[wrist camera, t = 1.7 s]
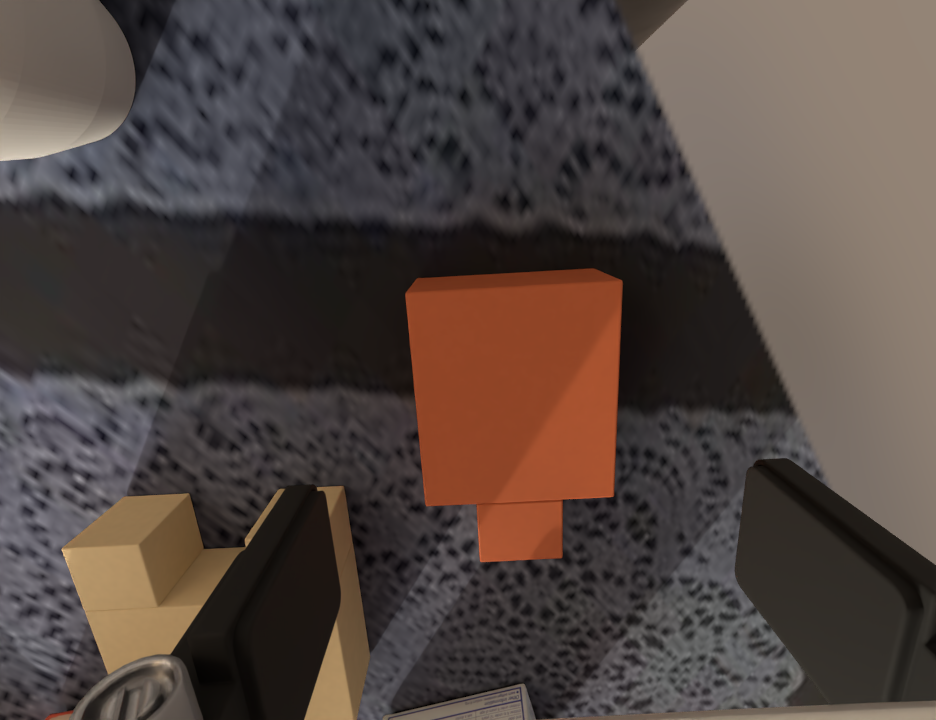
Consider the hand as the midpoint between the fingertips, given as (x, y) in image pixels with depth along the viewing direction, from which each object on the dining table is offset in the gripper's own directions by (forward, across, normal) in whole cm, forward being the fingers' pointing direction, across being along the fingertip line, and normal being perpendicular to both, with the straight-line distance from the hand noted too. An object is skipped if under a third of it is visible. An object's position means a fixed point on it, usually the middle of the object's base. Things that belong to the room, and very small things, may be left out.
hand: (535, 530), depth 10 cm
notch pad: (+10, +12, +9) cm, 18 cm away
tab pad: (+10, 0, +1) cm, 10 cm away
